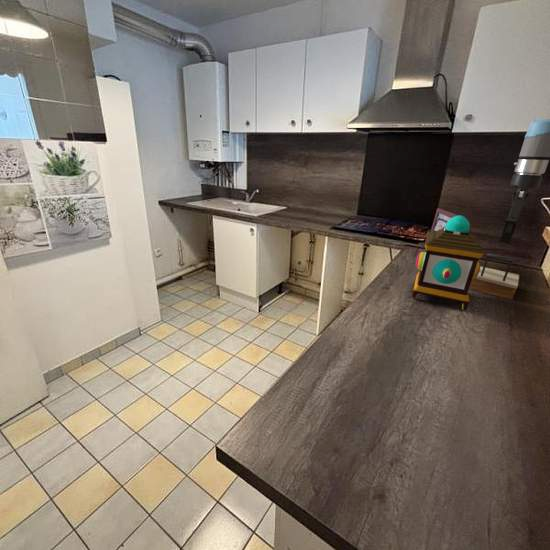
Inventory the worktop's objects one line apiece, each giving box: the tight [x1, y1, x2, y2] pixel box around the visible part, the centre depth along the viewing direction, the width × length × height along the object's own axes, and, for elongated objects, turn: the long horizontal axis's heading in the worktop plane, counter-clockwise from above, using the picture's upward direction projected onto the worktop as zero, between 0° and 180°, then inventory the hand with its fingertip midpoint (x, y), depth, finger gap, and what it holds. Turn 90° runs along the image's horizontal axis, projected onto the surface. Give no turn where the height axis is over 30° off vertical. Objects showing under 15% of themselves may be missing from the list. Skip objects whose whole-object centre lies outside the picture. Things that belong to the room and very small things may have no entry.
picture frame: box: [424, 207, 459, 252], centre depth 136 cm, size 17×10×25 cm, turn 178°
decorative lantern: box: [411, 214, 485, 311], centre depth 103 cm, size 20×20×30 cm
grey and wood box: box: [475, 252, 520, 290], centre depth 112 cm, size 14×16×10 cm
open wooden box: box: [469, 279, 517, 301], centre depth 116 cm, size 14×16×5 cm
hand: (505, 238), depth 101 cm, fingers open, 13 cm apart
